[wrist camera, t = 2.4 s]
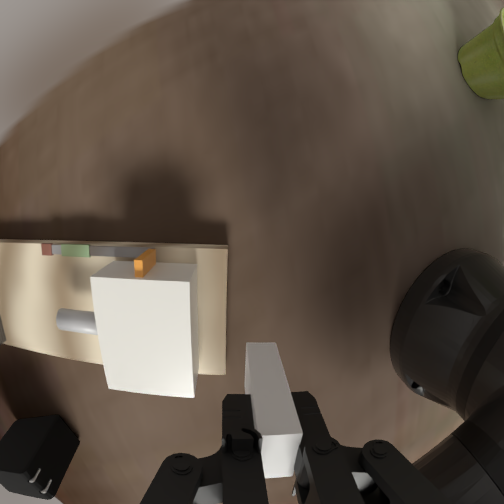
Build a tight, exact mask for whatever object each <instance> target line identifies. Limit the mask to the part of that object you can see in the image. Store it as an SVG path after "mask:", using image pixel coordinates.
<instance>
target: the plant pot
mask: <svg viewBox="0 0 504 504" xmlns="http://www.w3.org/2000/svg"><path fill="white" fill-rule="evenodd" d="M458 61H459V62H460V64H461V67H462V74H463V77H464V79H465V80H466V82H467V84H468V85H469V86H470V88H471V89H472V90H473V91H474V92H475V93H476V94H477V95H478V96H480V97H482V98H486V99H504V8H502V9H501V11H500V14H499V16H498V17H497V18H496V19H495V21H494V23H493V24H492V25H490V26H489V27H488V28H486V29H485V30H484V31H482V32H481V33H480V34H478V35H477V36H476V37H475V38H473V39H472V40H470V41H469V42H468V43H466V44H465V45H464V46H462V47H461V48H460V50H459V53H458Z"/></svg>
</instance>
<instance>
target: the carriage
mask: <svg viewBox="0 0 504 504" xmlns="http://www.w3.org/2000/svg"><path fill="white" fill-rule="evenodd" d="M90 281H91V290H92V299H93V307H94V312H92V311H83V310H74V309H66V308H60V309H59V310H58V312H57V315H56V324H57V327H58V328H59V329H60V330H65V331H71V332H78V333H85V334H92V335H98V339H99V345H100V350H101V356H102V361H103V365H104V370H105V375H106V379H107V383H108V388H109V389H115V390H122V391H129V392H136V393H144V394H153V395H163V396H174V397H188V398H194V397H195V390H196V383H197V377H198V370H199V347H198V304H197V264H188V263H161V262H156V249H148V250H146V251H145V252H144V253H142V254H141V255H140V256H139V257H137V258H136V259H135V260H134V261H112V262H111V263H109V264H108V265H106V266H105V267H103V268H102V269H101V270H99V271H98V272H96V273H95V274H93V275H92V276H90Z"/></svg>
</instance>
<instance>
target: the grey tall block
mask: <svg viewBox="0 0 504 504" xmlns="http://www.w3.org/2000/svg"><path fill="white" fill-rule="evenodd" d="M5 341H6V336H5V332H4V329H3V325H2V320H1V316H0V345H1V344H2V343H4V342H5Z"/></svg>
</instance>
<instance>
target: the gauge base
mask: <svg viewBox="0 0 504 504" xmlns="http://www.w3.org/2000/svg"><path fill="white" fill-rule="evenodd" d="M148 249H156V262H161V263H188V264H197V304H198V347H199V370H198V374H212V375H225V371H226V301H227V261H228V245H213V244H180V243H144V242H106V241H64V240H16V239H0V316H1V320H2V325H3V329H4V332H5V336H6V341H5V342H4V344H7V345H11V346H15V347H19V348H23V349H27V350H31V351H35V352H39V353H44V354H48V355H53V356H58V357H63V358H68V359H73V360H79V361H85V362H91V363H97V364H103V361H102V356H101V350H100V345H99V339H98V335H92V334H85V333H78V332H71V331H65V330H60V329H59V328H58V327H57V324H56V315H57V312H58V310H59V309H60V308H66V309H74V310H83V311H92V312H94V307H93V299H92V290H91V281H90V276H92V275H93V274H95V273H96V272H98V271H99V270H101V269H102V268H103V267H105V266H106V265H108V264H109V263H111V262H112V261H134V260H135V259H136V258H137V257H139V256H140V255H141V254H142V253H144V252H145V251H146V250H148Z"/></svg>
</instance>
